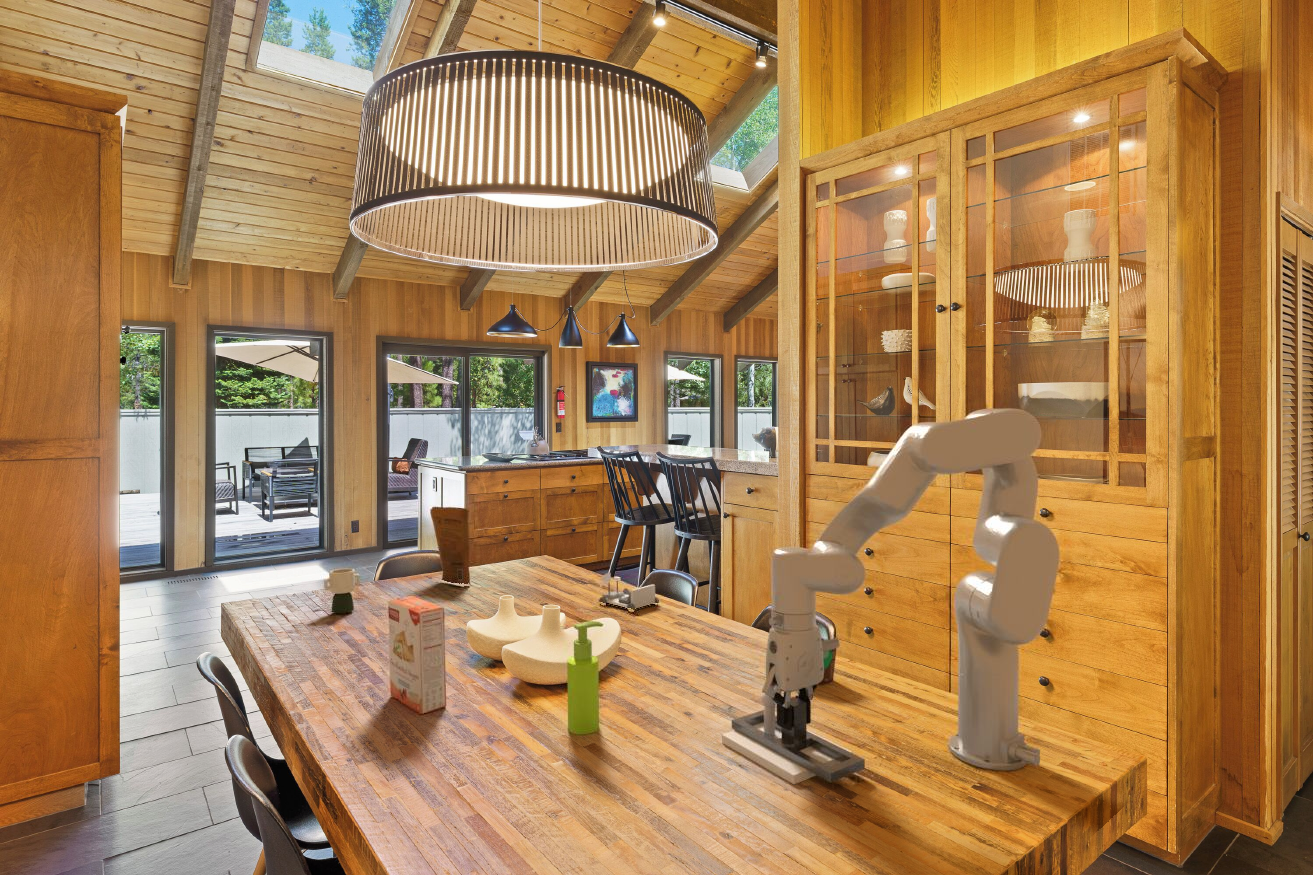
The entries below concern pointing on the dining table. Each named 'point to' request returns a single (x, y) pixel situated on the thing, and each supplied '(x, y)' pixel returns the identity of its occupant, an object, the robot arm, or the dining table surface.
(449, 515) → the pancake mix bag
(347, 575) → the character mug
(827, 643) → the food container
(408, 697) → the cracker box
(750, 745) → the white pegged base
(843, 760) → the grey frame with handle
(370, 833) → the dining table surface
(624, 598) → the grey tabletop ornament
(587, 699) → the soap dispenser
